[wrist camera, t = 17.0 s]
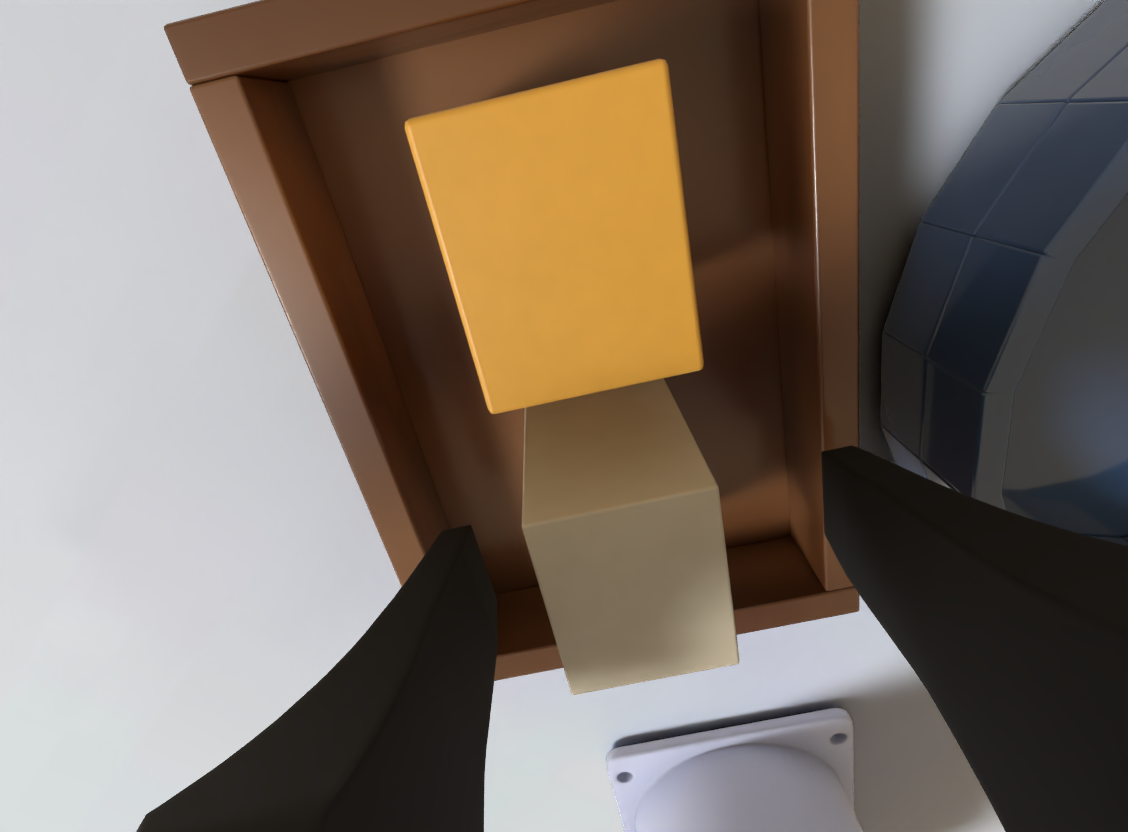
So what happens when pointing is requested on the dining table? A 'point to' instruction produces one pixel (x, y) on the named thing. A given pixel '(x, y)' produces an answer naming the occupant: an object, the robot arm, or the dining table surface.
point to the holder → (426, 300)
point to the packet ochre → (565, 234)
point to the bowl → (1026, 301)
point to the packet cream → (626, 538)
